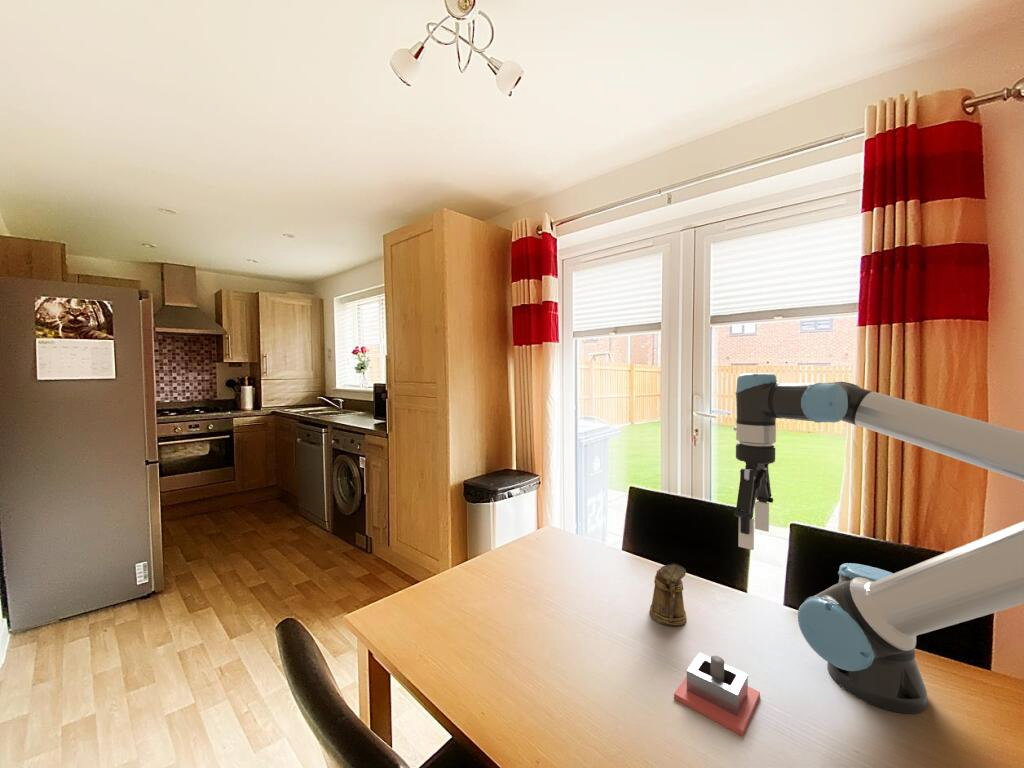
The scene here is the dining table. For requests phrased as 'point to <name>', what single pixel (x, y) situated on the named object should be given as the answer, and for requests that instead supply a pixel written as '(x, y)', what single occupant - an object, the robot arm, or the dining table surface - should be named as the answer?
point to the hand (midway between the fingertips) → (754, 538)
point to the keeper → (715, 712)
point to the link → (717, 685)
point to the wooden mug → (669, 596)
